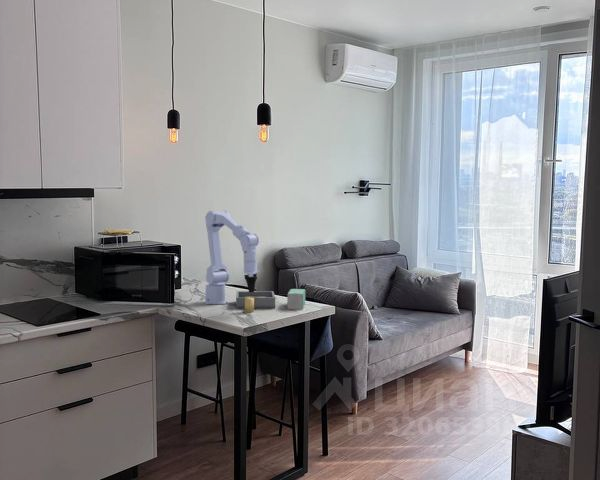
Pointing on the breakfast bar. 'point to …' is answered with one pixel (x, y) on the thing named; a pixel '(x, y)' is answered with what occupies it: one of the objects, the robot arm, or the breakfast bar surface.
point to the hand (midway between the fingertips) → (251, 291)
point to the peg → (249, 305)
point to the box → (296, 299)
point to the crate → (256, 299)
